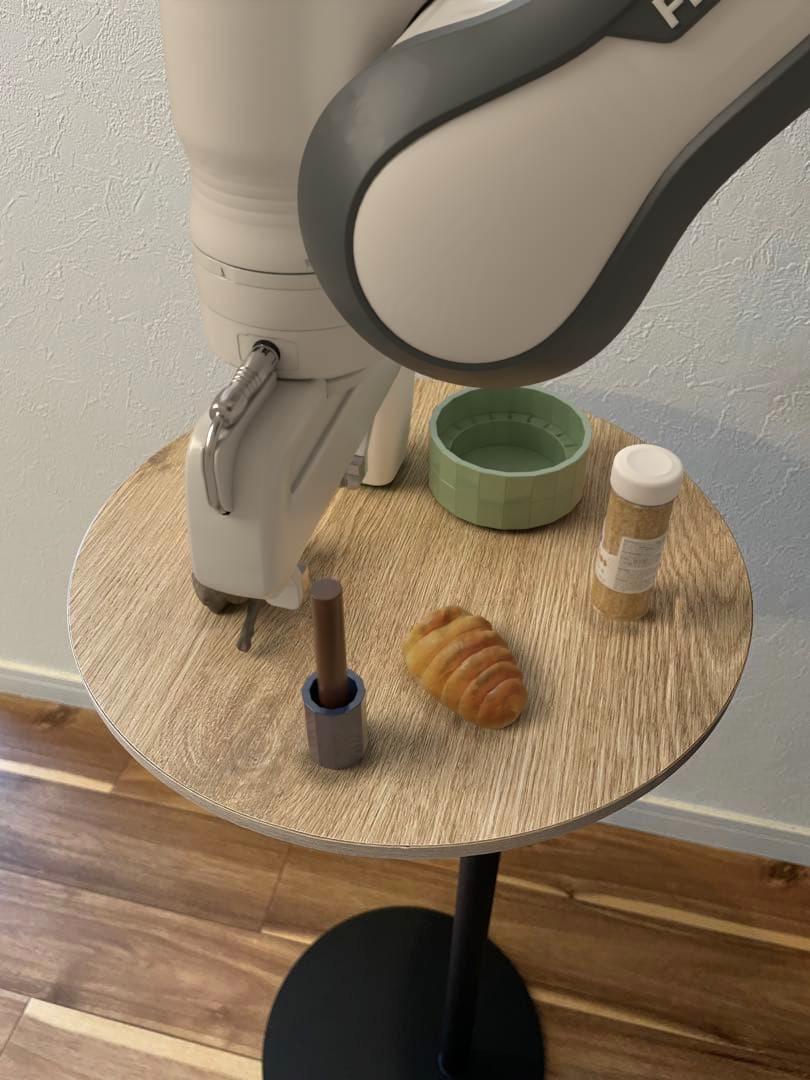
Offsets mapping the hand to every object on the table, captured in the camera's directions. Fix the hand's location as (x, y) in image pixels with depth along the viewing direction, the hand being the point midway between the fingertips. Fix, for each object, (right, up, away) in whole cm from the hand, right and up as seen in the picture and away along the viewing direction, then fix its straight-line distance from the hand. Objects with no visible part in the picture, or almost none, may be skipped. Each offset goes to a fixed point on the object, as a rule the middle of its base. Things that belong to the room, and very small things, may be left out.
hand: (320, 535), depth 50 cm
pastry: (+9, -10, +17) cm, 21 cm away
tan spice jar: (+20, -5, +22) cm, 30 cm away
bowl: (+13, +5, +33) cm, 36 cm away
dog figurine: (-8, -5, +22) cm, 24 cm away
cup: (+1, +6, +35) cm, 35 cm away
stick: (0, -13, +12) cm, 18 cm away
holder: (0, -14, +12) cm, 19 cm away
